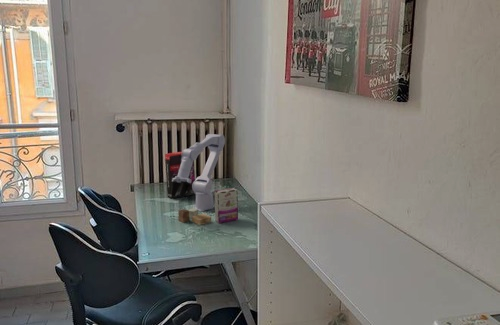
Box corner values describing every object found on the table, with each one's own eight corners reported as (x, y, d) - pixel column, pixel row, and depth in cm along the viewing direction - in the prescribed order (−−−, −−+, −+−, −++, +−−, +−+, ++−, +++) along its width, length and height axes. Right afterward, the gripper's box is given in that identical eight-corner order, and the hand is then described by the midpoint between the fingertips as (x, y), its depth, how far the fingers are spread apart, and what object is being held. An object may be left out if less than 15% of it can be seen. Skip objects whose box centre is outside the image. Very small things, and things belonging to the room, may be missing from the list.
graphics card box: (171, 199, 260) (169, 155, 254) (166, 197, 265) (164, 153, 259) (196, 194, 270) (194, 151, 265) (190, 192, 276) (188, 150, 270)
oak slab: (203, 219, 227) (203, 213, 227) (211, 222, 222) (211, 216, 222) (192, 222, 223) (191, 216, 222) (199, 225, 218) (199, 219, 217)
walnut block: (185, 219, 226) (184, 209, 225) (189, 221, 224) (189, 210, 222) (178, 220, 224) (178, 210, 223) (182, 222, 221) (182, 212, 220)
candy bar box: (234, 217, 229) (233, 187, 225) (238, 220, 225) (238, 189, 221) (214, 220, 224) (214, 190, 220) (218, 223, 219) (217, 192, 216)
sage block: (192, 215, 232) (192, 208, 232) (198, 216, 230) (198, 209, 229) (187, 217, 229) (187, 210, 228) (193, 218, 227) (193, 211, 226)
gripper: (170, 168, 228) (163, 192, 225) (186, 168, 217) (179, 193, 214) (181, 172, 233) (173, 197, 229) (197, 172, 222) (190, 198, 219)
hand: (177, 195), depth 222 cm, fingers open, 7 cm apart
